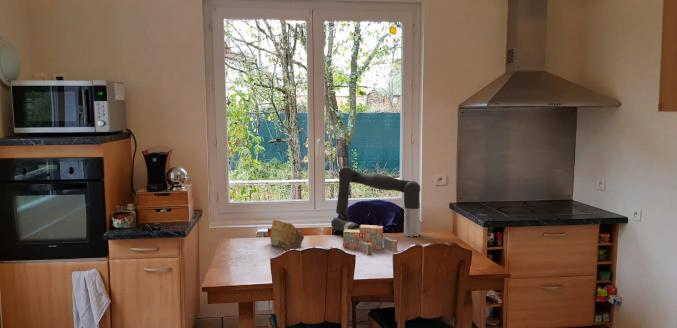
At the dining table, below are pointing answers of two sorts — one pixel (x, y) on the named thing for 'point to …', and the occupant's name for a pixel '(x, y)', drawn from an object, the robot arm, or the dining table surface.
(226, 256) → the dining table surface
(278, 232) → the rough brown rock
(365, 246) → the spaced upright blocks
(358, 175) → the robot arm
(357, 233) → the stack of blocks
